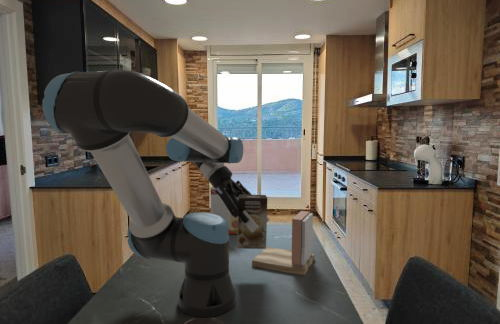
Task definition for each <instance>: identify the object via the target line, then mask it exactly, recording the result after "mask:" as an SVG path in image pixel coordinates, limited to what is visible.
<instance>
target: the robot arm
mask: <svg viewBox="0 0 500 324" xmlns="http://www.w3.org/2000/svg"><path fill="white" fill-rule="evenodd" d="M43 94H44V96H43V97H44V98H42V103H41V104H42V111H43V116H44V117H45V121H47V123H48V124H49V126H50V127H51V128H52V129H54V130H55V131H58V132H61V133H62V134H70V136H71V137H72V139H73V141H74V142H75V145H77V147H78V148H79V149H80V150H81V151H83V152H89V153H90V154H91V156H93V158H94V160H95V162H96V163H97V165H98V167H99V168H100V170H101V172H102V173H103V175H104V177H105V178H106V180H107V182H108V184H109V185H110V187H111V188H112V190H113V192H114V194H115V195H116V197H117V199H118V201H119V202H120V204H121V206H122V207H123V210H124V211H125V212H126V214H127V215H128V217H129V219H130V221H129V225H128V229H127V237H128V238H127V244H128V246H129V249H130V250H131V252H132V253H133V254H135V255H136V256H137V257H141V258H144V259H147V260H160V261H166V262H167V261H169V262H177V263H183V264H184V277H183V281H182V283H181V287H180V289H179V292H178V307H179V309H180V310H181V311H182V312H183V313H184V314H187V315H189V316H192V317H197V318H199V317H200V318H209V317H215V316H219V315H222V314H224V313H227V312H229V311H230V310H231V309H233V307H234V306H235V304H236V298H237V297H236V296H237V295H236V294H237V293H236V290H235V287H234V283H233V281H232V278H231V275H230V234H229V231H228V223H227V221H226V220H225V219H224V218H222V217H221V216H218V215H215V214H212V213H211V212H204V211H201V212H191V213H187V214H185V216H184V217H177V216H176V215H175V213H174V210H173V209H172V207H171V206H170V205H168V204H166V203H164V202H162V200H161V198H160V195H159V194H158V190H156V187H155V185H154V183H153V181H152V179H151V177H150V175H149V173H148V171H147V168H146V166H145V165H144V162H143V161H142V159H141V156H140V154H139V152H138V150H137V148H136V146H135V143H134V142H133V140H132V138H131V136H130V135H131V133H140V134H141V133H144V134H145V133H146V134H151V135H152V134H153V135H155V136H157V137H160V138H164V139H165V138H169V139H168V141H167V142H166V144H165V152H166V154H167V156H168V158H170V160H172V161H175V162H178V163H181V162H182V163H183V162H186V163H187V162H190V163H193V164H194V165H195V166H196V168H197V169H198V171H200V172H201V174H202V176H204V177H205V178H206V179H207V180H208V183H210V185H211V187H212V186H213V187H214V188H217V190H216V191H215V192H216V193H217V194H218V195H219V196H220V198H221V199H222V201H223V202H224V204H225V205H226V207H227V208H228V210H229V212H230V213H231V215H232V216H234V217H235V218H236V217H237V216H238V217H239V218H240V219H241V220H242V221H243V223H244V224H245V225H246V226H247V227H248V229H249V230H250V231H251V232H252V233H253V232H254V231H255V230H256V229H257V228H258V227H259V226H258V225H257V224H256V223H255V222H254V220H253V219H252V218H251V217H250V216H249V214H248V213H247V212H246V211H245V210H244V211H243V209H242V207H241V205H240V204H239V201H238V199H237V197H238V198H239V194H247V195H253V194H252V193H251V192H250V191H249V190H248V189H247V188H246V187H245V186H244V185H243V184H242V182H241V181H240V180H237V181H234V180H233V179H232V176H233V172H232V171H231V170H230V169H229V167H228V166H226V165H225V164H228V165H229V164H238V163H240V162H241V161H242V160H243V156H244V144H243V141H242V139H241V138H240V137H233V136H229V137H227V136H226V135H225V134H224V133H222V132H221V131H219V130H218V129H217V128H215V127H214V126H213V125H212V124H210V123H209V122H208V121H206V120H205V119H204V118H202V116H200V115H199V114H197V113H196V112H194V111H193V110H192V109H191V108H189V104H188V102H187V100H186V98H184V97H183V96H182V95H181V94H180V93H178V92H177V91H176V90H174V89H173V88H171V87H169V86H168V85H166V84H164V83H162V82H160V81H159V80H157V79H155V78H153V77H151V76H148V75H146V74H144V73H141V72H137V71H134V70H129V69H128V70H127V69H114V70H100V71H99V70H98V71H72V72H70V73H63V74H60V75H59V74H58V75H57V76H55V77H53V78H52V79H50V81H49V82H48V84H47V85H46V87H45V89H44V92H43ZM242 211H243V212H242ZM270 220H271V218H269V217H268V216H267V223H268V222H269V221H270Z"/></svg>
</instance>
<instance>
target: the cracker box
mask: <svg viewBox="0 0 500 324" xmlns="http://www.w3.org/2000/svg"><path fill="white" fill-rule="evenodd" d="M216 190H217V188H214V187H213V186H212V185H211V187H210V213H212V214H215V215H218V216H221V217H222V218H224V219H225V220H226V221H227V223H228V231H229V235H237V233H238V216H237V217H236V218H235V217H234V216H232V215H231V213H230V212H229V210H228V208H227V207H226V205H225V204H224V202H223V201H222V199H221V198H220V196H219V195H218V194H217V193H216V192H215V191H216ZM237 199H238V197H237Z"/></svg>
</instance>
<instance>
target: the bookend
mask: <svg viewBox="0 0 500 324" xmlns="http://www.w3.org/2000/svg"><path fill="white" fill-rule="evenodd" d="M313 220H314V214H313V212H309V215H308V216H307V217H306V218H305V219H304V220H303V221H302V251H301V265H295V264H292V265H294V266H299V267H305V265H306V264H307V262H308V261H309V259H310V258H311V256H312V254H313V229H314V227H313V225H314V221H313Z"/></svg>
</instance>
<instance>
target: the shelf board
mask: <svg viewBox="0 0 500 324" xmlns="http://www.w3.org/2000/svg"><path fill="white" fill-rule="evenodd" d="M314 260H315V253H312V256H311V258H310V259H309V261H308V262H307V264H306V265H305V267H299V266H294V265H292V249H285V248H278V247H277V248H276V247H270V246H266V249H262V250H261V251H260V252H259V253H257V255H256V256H255V257H254V258H253V259H252V260H251V267H256V268H259V269H261V268H262V269H267V270H273V271H276V272H278V271H279V272H283V273H288V274H294V275H300V276H306V274H307V272H308V271H309V270H310V267H311V266H312V264H313V263H314Z"/></svg>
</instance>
